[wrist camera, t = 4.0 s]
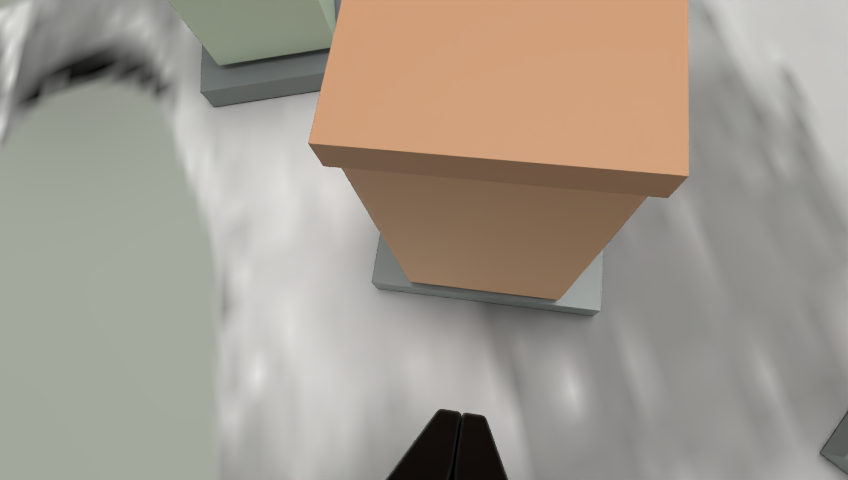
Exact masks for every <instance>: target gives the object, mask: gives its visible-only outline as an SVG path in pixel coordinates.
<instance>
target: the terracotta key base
mask: <svg viewBox="0 0 848 480" xmlns="http://www.w3.org/2000/svg"><path fill="white" fill-rule="evenodd" d="M602 268H603V249H602V251H601V252H600V253H599V254H598V255H597V256H596V258H595V259H594V260H593V261H592V262H591V263H590V265H589V266H588V267H587V268H586V269H585V271H584V272H583V273H582V274H581V275H580V276H579V278H578V279H577V280H576V281H575V282H574V283H573V285H572V286H571V287H570V288H569V289H568V290H567V292H566V293H565V294H564V295H563V296H562V298H561V299H560V300H554V299H546V298H538V297H530V296H522V295H514V294H506V293H498V292H489V291H481V290H473V289H465V288H457V287H449V286H441V285H433V284H425V283H417V282H410V281H409V280H408V278H407V276H406V275H405V273H404V271H403V270H402V268H401V266H400V265H399V263H398V261H397V260H396V258H395V256H394V255H393V253H392V251H391V250H390V248H389V246H388V245H387V243H386V241H385V240H384V238H383V236H382V235H381V233H380V238H379V244H378V249H377V255H376V260H375V266H374V271H373V277H372V283H373V284H374V285H375V286H376V287H377V288H378V289H385V290H393V291H401V292H409V293H417V294H425V295H433V296H441V297H448V298H456V299H464V300H472V301H480V302H488V303H496V304H504V305H512V306H519V307H527V308H535V309H543V310H551V311H559V312H567V313H575V314H583V315H590V316H594V315H595V314H596V313H598V312H599V311H601V290H602Z"/></svg>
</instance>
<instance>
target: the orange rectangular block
mask: <svg viewBox="0 0 848 480" xmlns="http://www.w3.org/2000/svg"><path fill="white" fill-rule="evenodd" d="M308 144H309V145H310V147H311V148H312V150H313V151H314V153H315V154H316V156H317V157H318V159H319V160H320V162H321V163H322V165H323V166H327V167H338V168H342V170H343V171H344V173H345V175H346V176H347V178H348V180H349V181H350V183H351V185H352V186H353V188H354V190H355V191H356V193H357V195H358V196H359V198H360V200H361V201H362V203H363V205H364V206H365V208H366V210H367V211H368V213H369V215H370V216H371V218H372V220H373V221H374V223H375V225H376V226H377V228H378V230H379V231H380V233H381V235H382V236H383V238H384V240H385V241H386V243H387V245H388V246H389V248H390V250H391V251H392V253H393V255H394V256H395V258H396V260H397V261H398V263H399V265H400V266H401V268H402V270H403V271H404V273H405V275H406V276H407V278H408V280H409V281H410V282H417V283H425V284H433V285H441V286H449V287H457V288H465V289H473V290H481V291H489V292H498V293H506V294H514V295H522V296H530V297H538V298H546V299H554V300H560V299H561V298H562V296H563V295H564V294H565V293H566V292H567V290H568V289H569V288H570V287H571V286H572V285H573V283H574V282H575V281H576V280H577V279H578V278H579V276H580V275H581V274H582V273H583V272H584V271H585V269H586V268H587V267H588V266H589V265H590V263H591V262H592V261H593V260H594V259H595V258H596V256H597V255H598V254H599V253H600V252H601V251H602V249H603V248H604V247H605V246H606V245H607V244H608V242H609V241H610V240H611V239H612V238H613V236H614V235H615V234H616V233H617V232H618V231H619V229H620V228H621V227H622V226H623V225H624V224H625V222H626V221H627V220H628V219H629V218H630V217H631V215H632V214H633V213H634V212H635V211H636V210H637V208H638V207H639V206H640V205H641V204H642V202H643V201H644V200H645V199H646V198H647V197H648V196H651V197H662V198H668V197H669V196H670V195H671V194H672V193H673V192H674V191H675V190H676V189H677V188H678V187H679V186H680V185H681V184H682V183H683V182H684V180H685V179H686V178H687V177H688V176H689V107H688V0H342V2H341V6H340V10H339V14H338V19H337V23H336V27H335V31H334V36H333V40H332V44H331V48H330V53H329V57H328V61H327V65H326V70H325V74H324V78H323V82H322V87H321V91H320V95H319V99H318V104H317V108H316V112H315V116H314V121H313V125H312V129H311V133H310V137H309V142H308Z"/></svg>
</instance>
